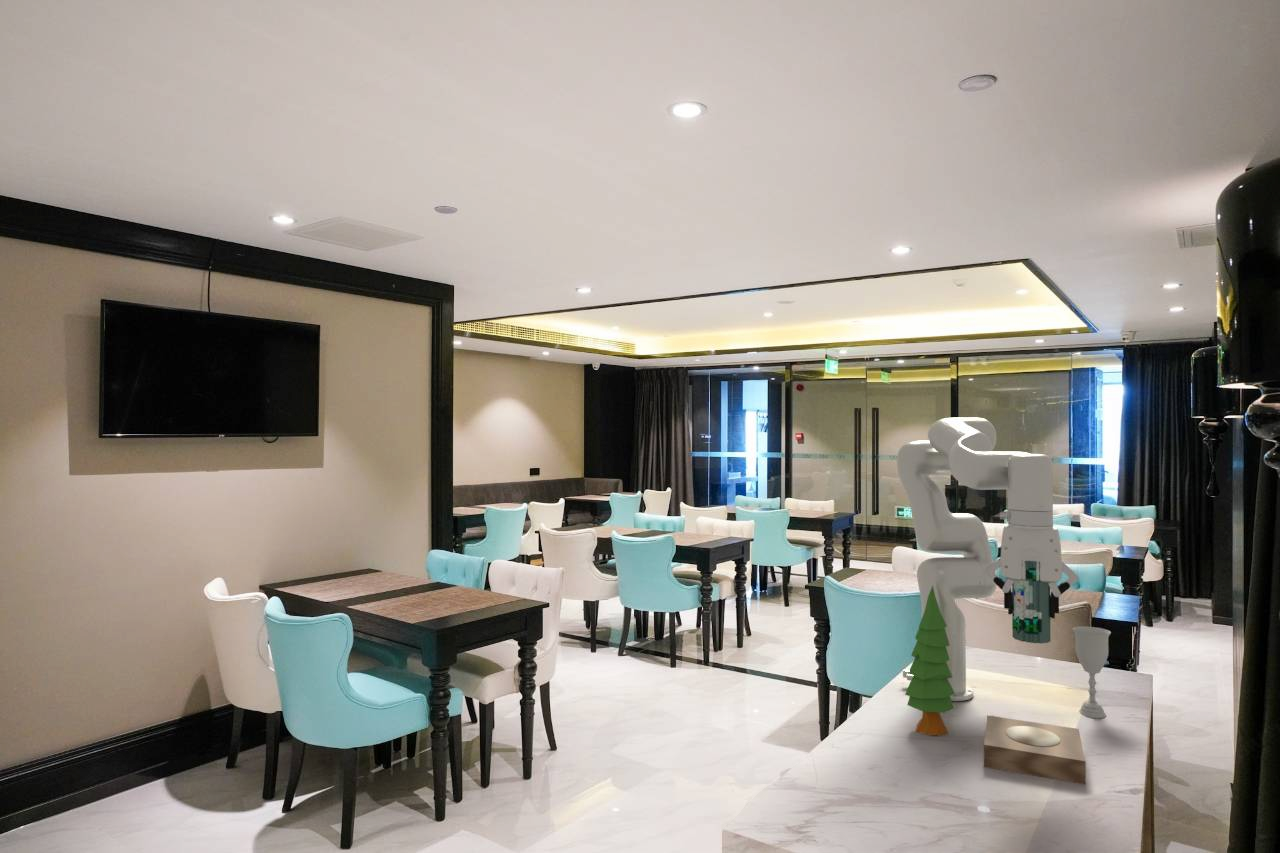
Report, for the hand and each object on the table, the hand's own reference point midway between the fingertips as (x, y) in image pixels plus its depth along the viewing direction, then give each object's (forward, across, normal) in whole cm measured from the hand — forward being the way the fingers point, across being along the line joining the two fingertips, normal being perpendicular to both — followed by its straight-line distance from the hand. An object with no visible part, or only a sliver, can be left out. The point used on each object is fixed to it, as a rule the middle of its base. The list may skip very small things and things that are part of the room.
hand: (1031, 614), depth 142 cm
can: (+5, 0, 0) cm, 5 cm away
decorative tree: (+27, -19, +6) cm, 34 cm away
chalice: (+27, +12, +31) cm, 43 cm away
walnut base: (+27, 0, 0) cm, 27 cm away
